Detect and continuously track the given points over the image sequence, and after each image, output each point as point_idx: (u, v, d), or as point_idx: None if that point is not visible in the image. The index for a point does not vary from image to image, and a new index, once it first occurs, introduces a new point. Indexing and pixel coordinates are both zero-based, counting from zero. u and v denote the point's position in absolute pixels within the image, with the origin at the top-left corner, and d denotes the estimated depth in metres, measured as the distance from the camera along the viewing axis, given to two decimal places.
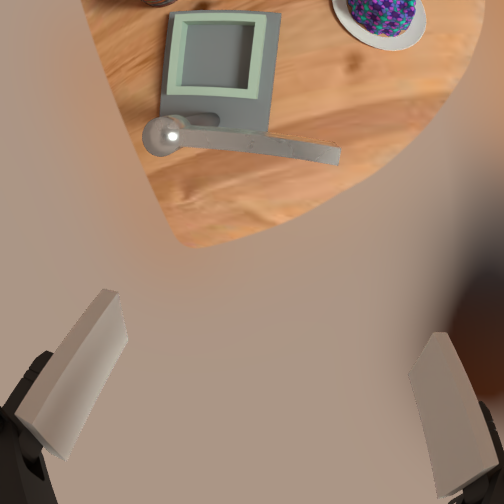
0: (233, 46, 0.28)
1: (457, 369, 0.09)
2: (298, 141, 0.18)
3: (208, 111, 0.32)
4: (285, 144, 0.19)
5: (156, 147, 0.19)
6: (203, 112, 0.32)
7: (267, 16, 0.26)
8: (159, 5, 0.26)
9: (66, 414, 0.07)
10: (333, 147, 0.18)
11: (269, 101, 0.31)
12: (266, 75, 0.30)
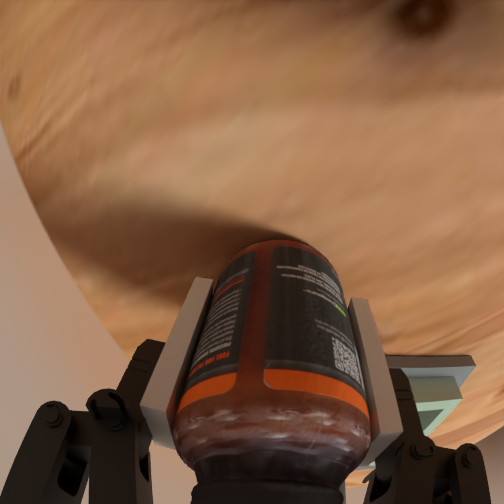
0: None
1: (369, 332, 0.11)
2: None
3: None
4: None
5: None
6: None
7: (457, 372, 0.16)
8: None
9: None
10: None
11: None
12: None
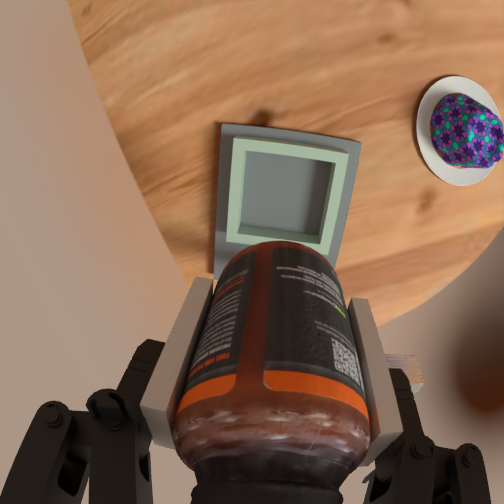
0: (303, 183, 0.28)
1: (369, 332, 0.11)
2: None
3: None
4: None
5: None
6: None
7: (345, 146, 0.26)
8: None
9: None
10: (418, 383, 0.18)
11: (338, 248, 0.31)
12: (337, 220, 0.30)
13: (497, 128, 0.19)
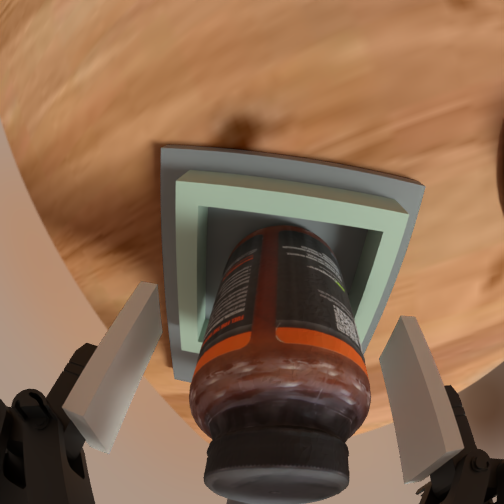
0: None
1: (423, 351, 0.10)
2: None
3: None
4: None
5: None
6: None
7: (397, 192, 0.13)
8: None
9: (111, 405, 0.08)
10: None
11: (363, 350, 0.18)
12: None
13: None
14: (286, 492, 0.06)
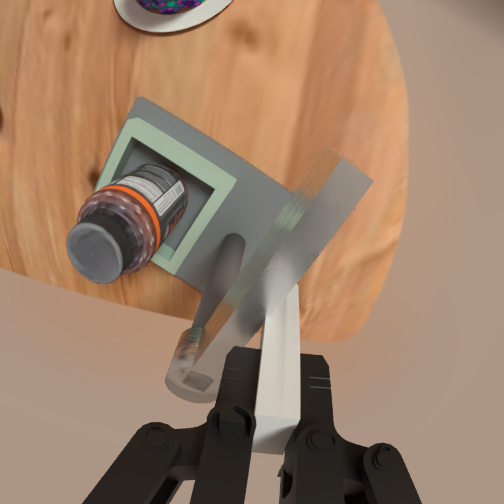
0: None
1: (289, 316, 0.11)
2: (290, 233, 0.09)
3: (221, 240, 0.27)
4: (285, 258, 0.10)
5: (204, 395, 0.14)
6: (219, 246, 0.27)
7: (135, 114, 0.22)
8: (181, 216, 0.25)
9: None
10: (333, 172, 0.08)
11: (247, 167, 0.24)
12: (211, 153, 0.23)
13: None
14: (92, 251, 0.15)
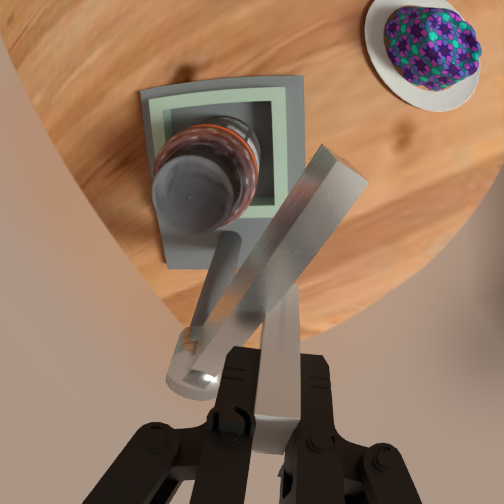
0: None
1: (289, 316, 0.11)
2: (287, 234, 0.10)
3: (224, 229, 0.27)
4: (282, 258, 0.10)
5: (204, 393, 0.14)
6: (217, 231, 0.27)
7: (284, 83, 0.20)
8: None
9: None
10: (329, 174, 0.09)
11: None
12: (294, 174, 0.24)
13: (468, 34, 0.13)
14: (196, 195, 0.14)
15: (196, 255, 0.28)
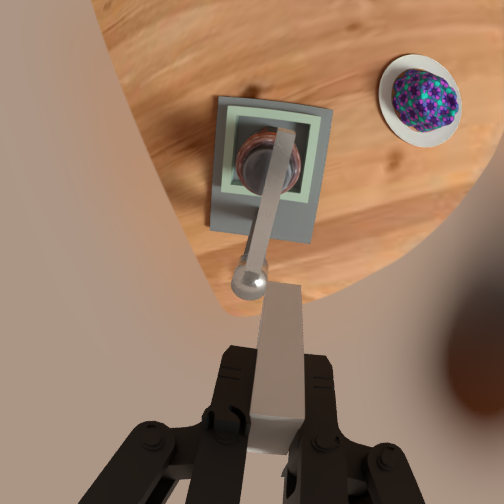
0: None
1: (292, 316, 0.11)
2: (268, 170, 0.20)
3: (259, 206, 0.37)
4: (270, 183, 0.20)
5: (257, 291, 0.24)
6: (254, 207, 0.37)
7: (319, 112, 0.31)
8: None
9: None
10: (276, 137, 0.19)
11: (317, 200, 0.36)
12: (315, 175, 0.35)
13: (451, 96, 0.25)
14: None
15: (234, 222, 0.38)
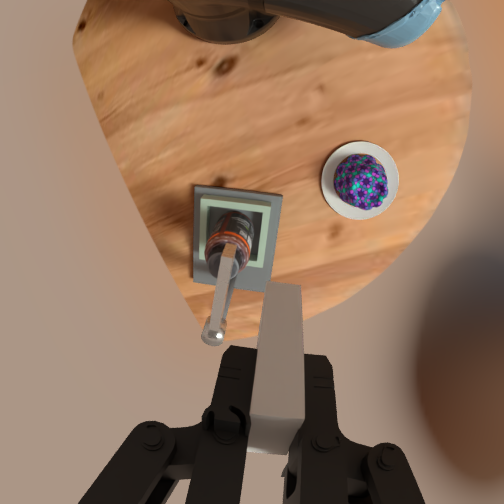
0: None
1: (292, 316, 0.11)
2: (217, 277, 0.33)
3: None
4: (219, 284, 0.33)
5: (217, 341, 0.37)
6: None
7: (272, 199, 0.44)
8: None
9: None
10: (221, 259, 0.31)
11: (271, 263, 0.49)
12: (270, 245, 0.47)
13: (381, 184, 0.37)
14: None
15: (211, 277, 0.51)
